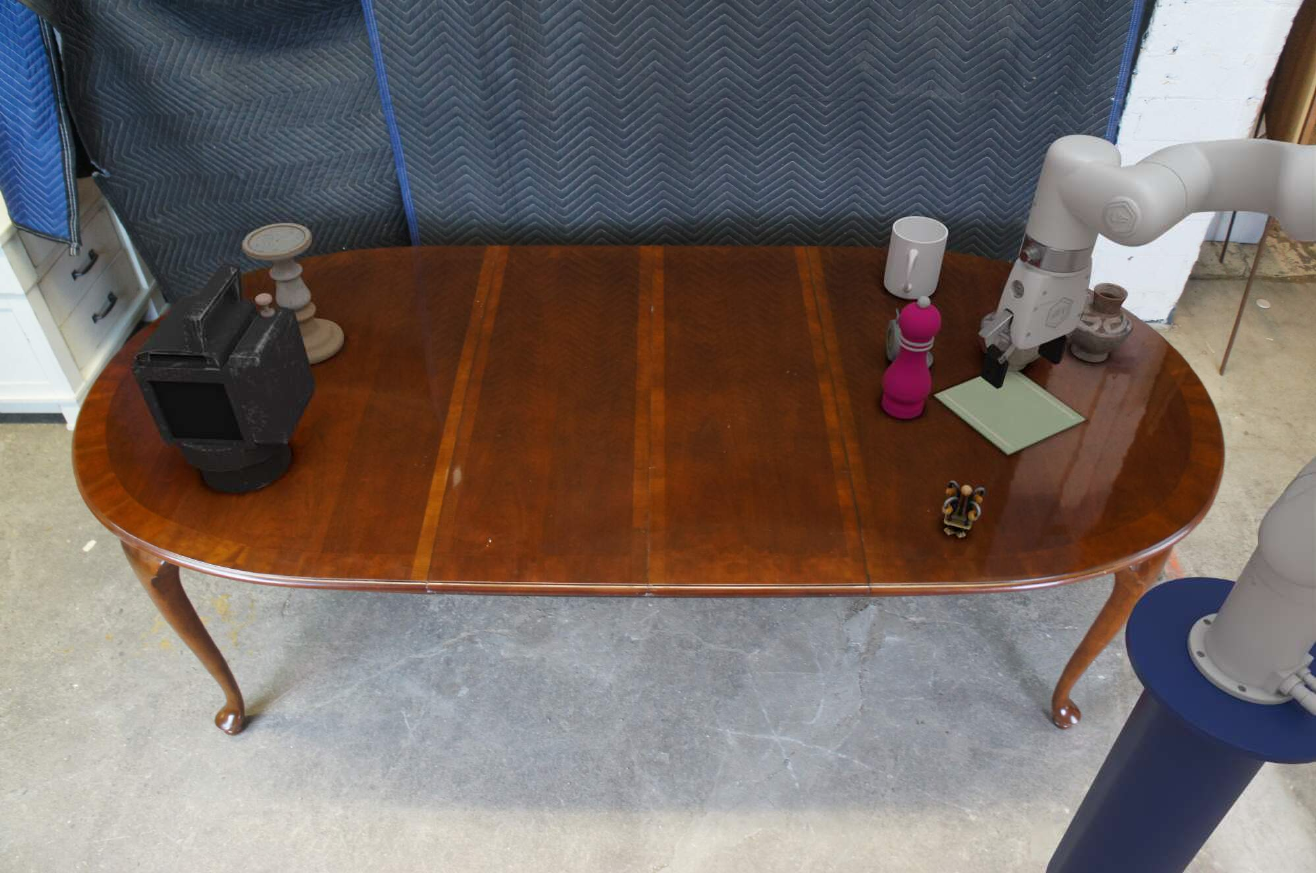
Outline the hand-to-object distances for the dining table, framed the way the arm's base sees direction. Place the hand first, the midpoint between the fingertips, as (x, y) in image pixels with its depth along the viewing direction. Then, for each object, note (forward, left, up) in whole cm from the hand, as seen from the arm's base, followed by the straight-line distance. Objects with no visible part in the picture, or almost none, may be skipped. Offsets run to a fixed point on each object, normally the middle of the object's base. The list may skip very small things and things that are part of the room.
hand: (1019, 370), depth 122 cm
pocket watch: (+31, -12, -23) cm, 40 cm away
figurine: (-2, +7, -23) cm, 24 cm away
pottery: (+20, -33, -23) cm, 45 cm away
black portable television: (+58, +86, -23) cm, 106 cm away
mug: (+47, -27, -23) cm, 59 cm away
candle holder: (+84, +72, -23) cm, 113 cm away
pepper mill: (+22, -4, -23) cm, 32 cm away
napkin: (+13, -18, -23) cm, 32 cm away
